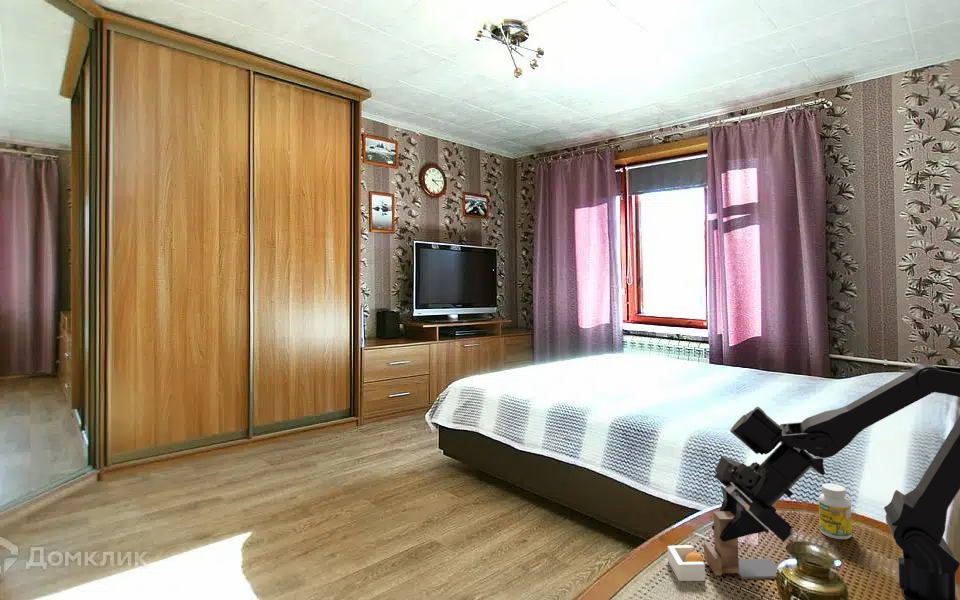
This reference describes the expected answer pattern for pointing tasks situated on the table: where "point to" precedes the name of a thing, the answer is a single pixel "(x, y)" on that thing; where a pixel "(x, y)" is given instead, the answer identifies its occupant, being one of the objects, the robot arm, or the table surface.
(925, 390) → the robot arm
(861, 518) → the table surface
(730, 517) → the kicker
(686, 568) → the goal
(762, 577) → the grey flat plate
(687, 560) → the ball
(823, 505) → the supplement bottle
